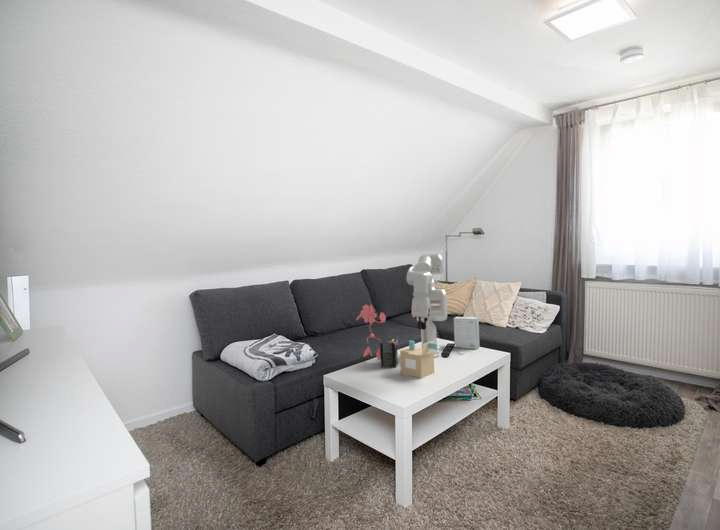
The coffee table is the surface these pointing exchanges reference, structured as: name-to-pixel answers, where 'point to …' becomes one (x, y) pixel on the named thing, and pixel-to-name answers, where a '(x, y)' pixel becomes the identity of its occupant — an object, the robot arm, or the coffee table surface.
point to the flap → (429, 348)
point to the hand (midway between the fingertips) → (422, 328)
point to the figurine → (369, 317)
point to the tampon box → (388, 353)
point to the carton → (416, 361)
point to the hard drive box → (466, 332)
